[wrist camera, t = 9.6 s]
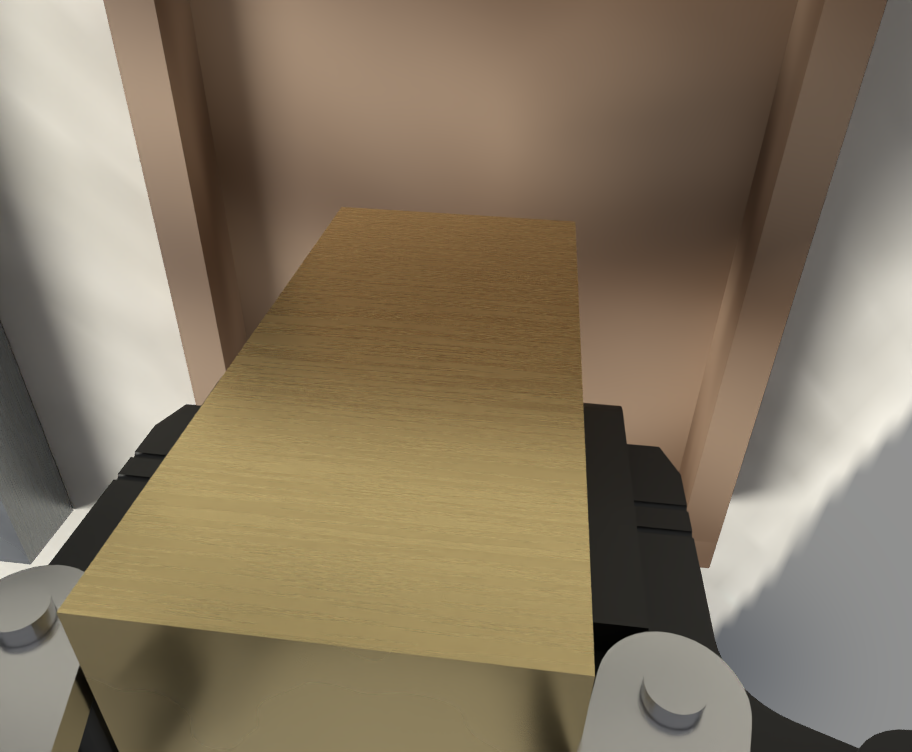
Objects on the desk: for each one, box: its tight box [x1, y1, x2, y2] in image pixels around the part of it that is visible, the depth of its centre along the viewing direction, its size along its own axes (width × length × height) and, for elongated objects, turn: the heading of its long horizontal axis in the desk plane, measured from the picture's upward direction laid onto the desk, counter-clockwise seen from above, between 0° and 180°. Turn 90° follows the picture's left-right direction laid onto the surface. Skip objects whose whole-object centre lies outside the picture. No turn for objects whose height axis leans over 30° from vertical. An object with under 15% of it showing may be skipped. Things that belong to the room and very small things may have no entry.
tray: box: [103, 0, 887, 568], centre depth 17 cm, size 18×14×2 cm
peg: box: [56, 207, 595, 752], centre depth 10 cm, size 4×4×8 cm
